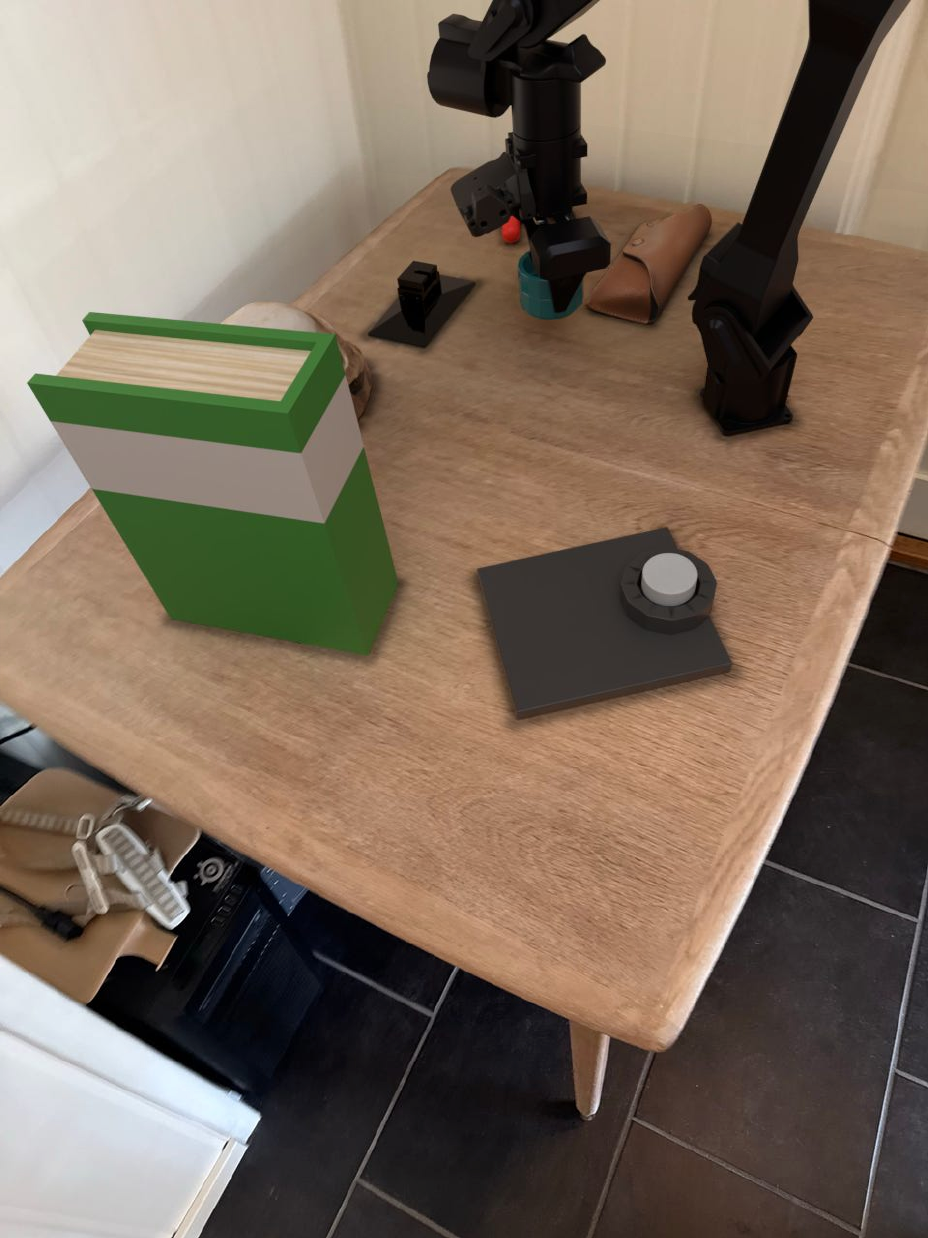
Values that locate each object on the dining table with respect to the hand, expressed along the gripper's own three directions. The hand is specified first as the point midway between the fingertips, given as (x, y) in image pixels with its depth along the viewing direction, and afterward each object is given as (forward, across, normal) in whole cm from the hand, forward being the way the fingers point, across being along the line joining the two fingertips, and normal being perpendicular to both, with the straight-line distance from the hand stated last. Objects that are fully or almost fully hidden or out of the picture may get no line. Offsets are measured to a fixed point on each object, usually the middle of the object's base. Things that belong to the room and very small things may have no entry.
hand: (551, 292), depth 86 cm
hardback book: (+6, +27, -30) cm, 41 cm away
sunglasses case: (+6, -8, +13) cm, 16 cm away
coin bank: (+6, +4, -27) cm, 28 cm away
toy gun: (+6, -23, +2) cm, 24 cm away
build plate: (+6, -10, -12) cm, 17 cm away
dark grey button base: (+5, +36, -6) cm, 37 cm away
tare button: (+3, +36, 0) cm, 36 cm away
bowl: (+1, 0, 0) cm, 1 cm away
